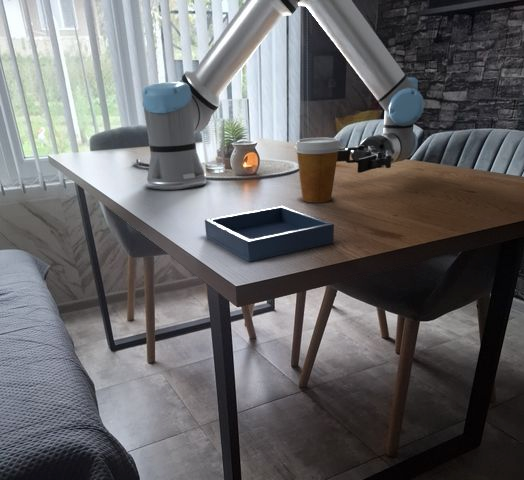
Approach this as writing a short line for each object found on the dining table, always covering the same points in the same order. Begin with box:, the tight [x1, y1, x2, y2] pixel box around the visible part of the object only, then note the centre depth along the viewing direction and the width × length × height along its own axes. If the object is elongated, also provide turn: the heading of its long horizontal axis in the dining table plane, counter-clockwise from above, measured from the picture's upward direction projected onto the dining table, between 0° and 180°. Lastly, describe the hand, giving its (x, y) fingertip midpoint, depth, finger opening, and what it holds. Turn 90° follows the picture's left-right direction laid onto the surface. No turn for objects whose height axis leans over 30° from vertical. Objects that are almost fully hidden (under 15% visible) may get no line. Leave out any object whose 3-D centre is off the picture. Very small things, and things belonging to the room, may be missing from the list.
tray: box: [204, 205, 335, 263], centre depth 80 cm, size 16×16×3 cm
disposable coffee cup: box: [294, 137, 342, 203], centre depth 103 cm, size 10×10×12 cm
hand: (331, 163), depth 106 cm, fingers open, 13 cm apart
